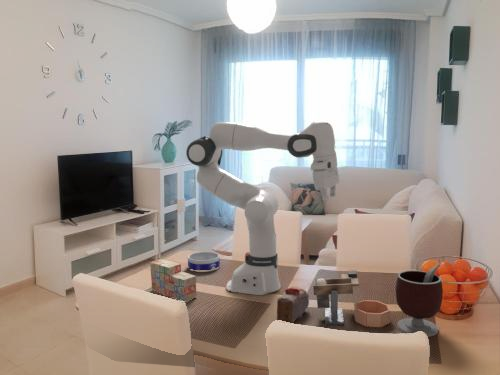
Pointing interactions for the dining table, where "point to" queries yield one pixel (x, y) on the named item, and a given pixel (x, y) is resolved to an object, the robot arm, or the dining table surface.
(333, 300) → the chute stand
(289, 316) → the food item
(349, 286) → the tipping chute
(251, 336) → the dining table surface
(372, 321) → the octagonal bowl
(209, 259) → the dog bowl
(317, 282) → the ball
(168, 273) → the stack of blocks
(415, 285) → the mate gourd
